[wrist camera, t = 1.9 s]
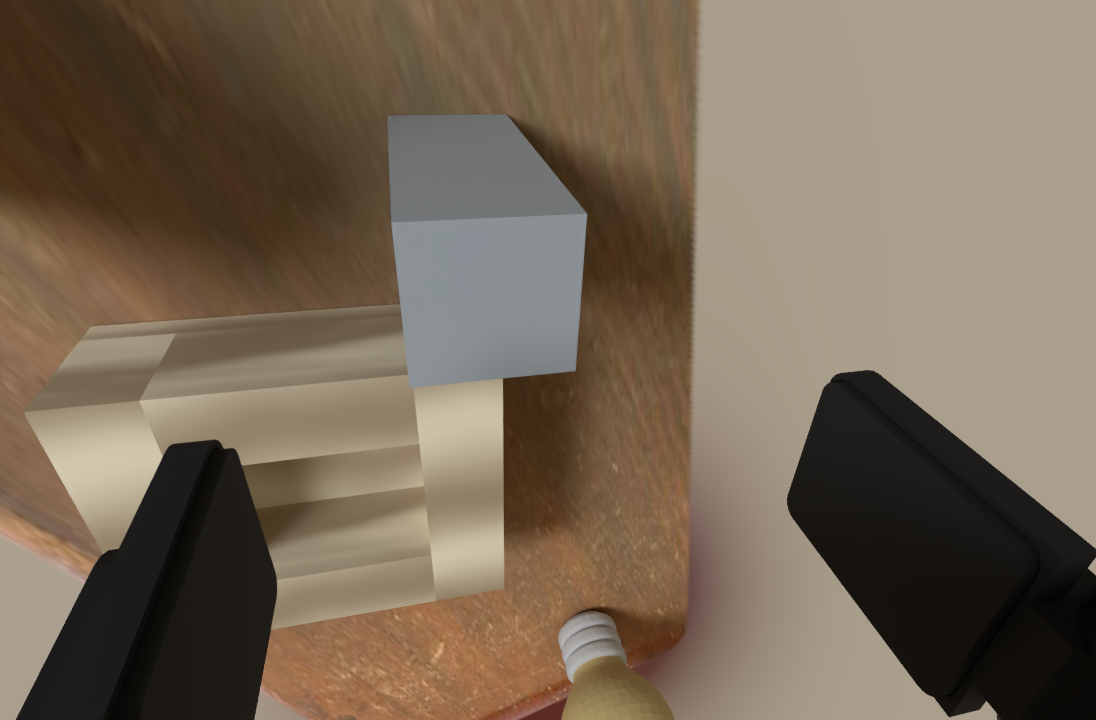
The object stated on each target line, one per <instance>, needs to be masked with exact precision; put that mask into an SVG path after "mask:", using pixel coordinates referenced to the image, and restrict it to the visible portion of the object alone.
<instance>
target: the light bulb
mask: <svg viewBox="0 0 1096 720" xmlns="http://www.w3.org/2000/svg"><path fill="white" fill-rule="evenodd" d="M558 641H559V645H560V648H561V650H562V656H563V660H564V663H565V665H566V672H567V675H568V678H569V680H570V681H571V682H572V683H573V686H572V689H571V691H570V694H569V696H568V699H567V702H566V705H565V708H564V711H563V715H562V720H674V717H673V714H672V712H671V710H670V708H669V706H668V704H667V703H666V701H665V700H664V698H663V697H662V695H661V694H660V692H659V691H658V690H657V689H656V688H655V687H654V686H653V685H652V684H651V683H650V682H649V681H647V680H646V679H645V678H643V677H642V676H640V675H639V674H638V673H636V672H635V671H633V670H632V669H630V668H628V667H627V666H626V654H625V651H624V649H623V647H622V645H621V640H620V637H619V635H618V633H617V630H616V626H615V623H614V621H613V619H612V618H611V617H610V616H608V615H607V614H604V613H600V612H598V611H587V612H583V613H580V614H577V615H575V616H573V617H572V618H570V619H569V620H568V621H567V622H566V623H565V625H564V626H563V627H562V628H561V630H560V632H559V636H558Z"/></svg>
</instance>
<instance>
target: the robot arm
mask: <svg viewBox="0 0 1096 720" xmlns="http://www.w3.org/2000/svg"><path fill="white" fill-rule="evenodd" d="M787 505H788V509H789V512H790V515H791V516H792V518H793V519H794V520H795V522H796V523H797V525H798V526H799V527H800V529H801V530H802V531H803V532H804V534H805V535H806V537H807V538H808V539H809V541H810V542H811V543H812V545H813V546H814V547H815V549H816V550H817V551H818V553H819V554H820V555H821V557H822V558H823V559H824V561H825V562H826V563H827V565H828V566H829V567H830V569H831V570H832V571H833V573H834V574H835V575H836V577H837V578H838V579H839V581H840V582H841V584H842V585H843V586H844V587H845V589H846V590H847V592H848V593H849V594H850V595H851V597H852V598H853V600H854V601H855V602H856V603H857V605H858V606H859V608H860V609H861V610H862V612H863V613H864V614H865V616H866V617H867V618H868V620H869V621H870V622H871V624H872V625H873V626H874V628H875V629H876V630H877V632H878V633H879V634H880V636H881V637H882V638H883V640H884V641H885V642H886V644H887V645H888V646H889V648H890V649H891V650H892V652H893V653H894V654H895V656H896V657H897V658H898V660H899V661H900V662H901V664H902V665H903V666H904V668H905V669H906V670H907V672H908V673H909V674H910V676H911V677H912V678H913V680H914V681H915V682H916V684H917V685H918V686H919V687H920V688H921V689H922V691H924V692H925V693H926V694H928V695H930V696H932V697H934V698H935V699H936V701H937V702H938V703H939V705H940V706H941V707H942V709H943V710H944V711H945V712H946V714H947V715H948V716H949V717H952V716H956V715H960V714H964V713H968V712H972V711H976V710H979V709H980V708H981V707H982V706H983V705H984V703H985V702H986V701H987V702H988V703H989V704H990V706H991V707H992V708H993V709H994V710H995V711H996V713H997V720H1096V575H1095V574H1093V573H1092V572H1091V571H1090V570H1089V569H1088V567H1089V565H1090V564H1091V563H1092V561H1093V560H1094V559H1095V558H1096V549H1095V548H1094V547H1093V546H1092V545H1090V544H1089V543H1088V542H1087V541H1085V540H1084V539H1083V538H1082V537H1081V536H1079V535H1078V534H1077V533H1076V532H1074V531H1073V530H1072V529H1070V528H1069V527H1068V526H1067V525H1066V524H1064V523H1063V522H1062V521H1061V520H1059V519H1058V518H1057V517H1056V516H1054V515H1053V514H1052V513H1051V512H1049V511H1048V510H1047V509H1046V508H1045V507H1043V506H1042V505H1041V504H1040V503H1038V502H1037V501H1036V500H1035V499H1033V498H1032V497H1031V496H1030V495H1028V494H1027V493H1026V492H1025V491H1023V490H1022V489H1021V488H1020V487H1018V486H1017V485H1016V484H1015V483H1014V482H1012V481H1011V480H1010V479H1008V478H1007V477H1006V476H1005V475H1004V474H1002V473H1001V472H1000V471H999V470H997V469H996V468H995V467H994V466H992V465H991V464H990V463H989V462H987V461H986V460H985V459H984V458H982V457H981V456H980V455H979V454H977V453H976V452H975V451H974V450H973V449H971V448H970V447H969V446H968V445H966V444H965V443H964V442H963V441H961V440H960V439H959V438H958V437H956V436H955V435H954V434H953V433H951V432H950V431H949V430H948V429H946V428H945V427H944V426H943V425H942V424H940V423H939V422H938V421H937V420H935V419H934V418H933V417H932V416H930V415H929V414H928V413H927V412H925V411H924V410H923V409H922V408H920V407H919V406H918V405H917V404H915V403H914V402H913V401H912V400H911V399H909V398H908V397H907V396H906V395H904V394H903V393H901V391H899V390H898V389H897V388H896V387H894V386H893V385H892V384H891V383H889V382H888V381H887V380H886V379H884V378H883V377H882V376H881V375H879V374H878V373H876V372H874V371H869V370H865V371H857V372H847V373H840V374H837V375H835V376H834V377H833V378H832V379H831V382H830V383H829V384H827V385H826V386H825V387H824V389H823V391H822V394H821V397H820V400H819V403H818V406H817V409H816V412H815V415H814V418H813V421H812V424H811V427H810V430H809V433H808V436H807V439H806V442H805V445H804V448H803V451H802V454H801V457H800V460H799V463H798V466H797V469H796V472H795V475H794V478H793V481H792V484H791V487H790V490H789V493H788V497H787ZM276 599H277V577H276V572H275V569H274V566H273V562H272V559H271V556H270V553H269V550H268V547H267V544H266V540H265V537H264V534H263V531H262V528H261V525H260V521H259V518H258V515H257V512H256V509H255V506H254V502H253V499H252V496H251V493H250V490H249V487H248V483H247V480H246V477H245V474H244V471H243V468H242V464H241V461H240V458H239V455H238V453H237V451H236V450H235V449H234V448H227V449H224V448H223V446H222V444H221V443H220V442H219V440H216V439H214V440H205V441H195V442H186V443H176V444H172V445H170V446H169V447H168V448H167V450H166V451H165V453H164V455H163V457H162V459H161V462H160V464H159V466H158V468H157V470H156V472H155V474H154V476H153V478H152V480H151V482H150V484H149V487H148V489H147V491H146V493H145V495H144V497H143V499H142V501H141V503H140V505H139V507H138V510H137V512H136V514H135V516H134V518H133V520H132V522H131V524H130V526H129V528H128V530H127V533H126V535H125V537H124V539H123V541H122V543H121V545H120V547H119V549H113V550H108V551H107V552H105V553H104V554H103V555H102V556H100V558H99V559H98V561H97V562H96V564H95V565H94V567H93V569H92V571H91V573H90V575H89V576H88V578H87V580H86V582H85V584H84V586H83V588H82V590H81V593H80V594H79V596H78V598H77V600H76V602H75V604H74V606H73V608H72V610H71V612H70V614H69V616H68V618H67V620H66V622H65V624H64V626H63V628H62V630H61V632H60V634H59V636H58V638H57V640H56V642H55V644H54V646H53V648H52V650H51V652H50V653H49V655H48V658H47V659H46V661H45V663H44V665H43V667H42V669H41V671H40V673H39V675H38V677H37V679H36V681H35V683H34V685H33V687H32V689H31V691H30V693H29V695H28V697H27V699H26V701H25V703H24V705H23V707H22V709H21V711H20V713H19V714H18V716H17V718H16V720H254V717H255V713H256V707H257V702H258V696H259V691H260V686H261V680H262V675H263V669H264V664H265V659H266V653H267V648H268V642H269V637H270V632H271V626H272V621H273V615H274V610H275V604H276Z"/></svg>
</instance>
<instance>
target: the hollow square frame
mask: <svg viewBox="0 0 1096 720" xmlns="http://www.w3.org/2000/svg"><path fill="white" fill-rule="evenodd" d="M24 414H25V416H26V418H27V420H28V421H29V423H30V425H31V427H32V429H33V430H34V432H35V434H36V436H37V437H38V439H39V441H40V443H41V445H42V446H43V448H44V450H45V452H46V453H47V455H48V457H49V459H50V461H51V462H52V464H53V466H54V468H55V469H56V471H57V473H58V475H59V477H60V478H61V480H62V482H63V484H64V485H65V487H66V489H67V491H68V493H69V494H70V496H71V498H72V500H73V502H74V503H75V505H76V507H77V509H78V510H79V512H80V514H81V516H82V518H83V519H84V521H85V523H86V525H87V526H88V528H89V530H90V532H91V534H92V535H93V537H94V539H95V541H96V542H97V544H98V546H99V548H100V550H101V551H102V553H103V554H104V553H105V552H107V551H108V550H113V549H119V547H120V545H121V543H122V541H123V539H124V537H125V535H126V533H127V530H128V528H129V526H130V524H131V522H132V520H133V518H134V516H135V514H136V512H137V510H138V507H139V505H140V503H141V501H142V499H143V497H144V495H145V493H146V491H147V489H148V487H149V484H150V482H151V480H152V478H153V476H154V474H155V472H156V470H157V468H158V466H159V464H160V462H161V459H162V457H163V455H164V453H165V451H166V450H167V448H168V447H169V446H170V445H172V444H176V443H186V442H195V441H205V440H214V439H216V440H219V442H220V443H221V444H222V446H223V448H224V449H227V448H234V449H235V450H236V451H237V453H238V455H239V458H240V461H241V464H242V468H243V471H244V474H245V477H246V480H247V483H248V487H249V490H250V493H251V496H252V499H253V502H254V506H255V509H256V512H257V515H258V518H259V521H260V525H261V528H262V531H263V534H264V537H265V540H266V544H267V547H268V550H269V553H270V556H271V559H272V562H273V566H274V569H275V572H276V577H277V599H276V604H275V610H274V615H273V621H272V626H271V629H277V628H283V627H288V626H294V625H300V624H305V623H311V622H317V621H323V620H328V619H334V618H340V617H345V616H351V615H357V614H362V613H368V612H374V611H380V610H385V609H391V608H397V607H402V606H408V605H414V604H419V603H425V602H431V601H437V600H442V599H448V598H454V597H459V596H465V595H471V594H476V593H482V592H488V591H494V590H499V589H504V483H503V379H493V380H483V381H473V382H463V383H454V384H444V385H434V386H424V387H414V388H410V387H409V378H408V369H407V360H406V351H405V342H404V333H403V324H402V315H401V306H400V304H392V305H378V306H364V307H351V308H337V309H323V310H309V311H296V312H282V313H268V314H255V315H241V316H227V317H213V318H200V319H186V320H172V321H158V322H145V323H131V324H117V325H104V326H91V327H90V328H89V330H88V331H87V332H86V334H85V335H84V336H83V337H82V339H81V340H80V341H79V342H78V344H77V345H76V346H75V347H74V349H73V350H72V351H71V352H70V354H69V355H68V356H67V358H66V359H65V360H64V361H63V363H62V364H61V365H60V366H59V368H58V369H57V370H56V371H55V373H54V374H53V375H52V376H51V378H50V379H49V380H48V382H47V383H46V384H45V385H44V387H43V388H42V389H41V390H40V392H39V393H38V394H37V395H36V397H35V398H34V399H33V400H32V402H31V403H30V404H29V405H28V407H27V408H26V409H25V411H24Z"/></svg>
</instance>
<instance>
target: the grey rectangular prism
mask: <svg viewBox="0 0 1096 720" xmlns="http://www.w3.org/2000/svg"><path fill="white" fill-rule="evenodd" d="M387 126H388V151H389V177H390V203H391V225H392V234H393V243H394V252H395V261H396V270H397V279H398V288H399V297H400V306H401V315H402V324H403V333H404V342H405V351H406V360H407V369H408V378H409V387H410V388H414V387H424V386H434V385H444V384H454V383H463V382H473V381H483V380H493V379H503V378H512V377H522V376H532V375H542V374H552V373H562V372H571V371H576V357H577V344H578V330H579V317H580V303H581V290H582V277H583V263H584V250H585V236H586V223H587V213H586V212H585V210H584V209H583V208H582V207H581V206H580V204H579V203H578V202H577V201H576V199H575V198H574V197H573V196H572V194H571V193H570V192H569V191H568V190H567V188H566V187H565V186H564V185H563V183H562V182H561V181H560V180H559V178H558V177H557V176H556V175H555V173H554V172H553V171H552V170H551V169H550V167H549V166H548V165H547V164H546V162H545V161H544V160H543V159H542V157H541V156H540V155H539V154H538V153H537V151H536V150H535V149H534V148H533V146H532V145H531V144H530V143H529V141H528V140H527V139H526V138H525V137H524V135H523V134H522V133H521V132H520V130H519V129H518V128H517V127H516V125H515V124H514V123H513V122H512V120H511V119H510V118H509V117H508V116H507V114H477V115H387Z"/></svg>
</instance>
